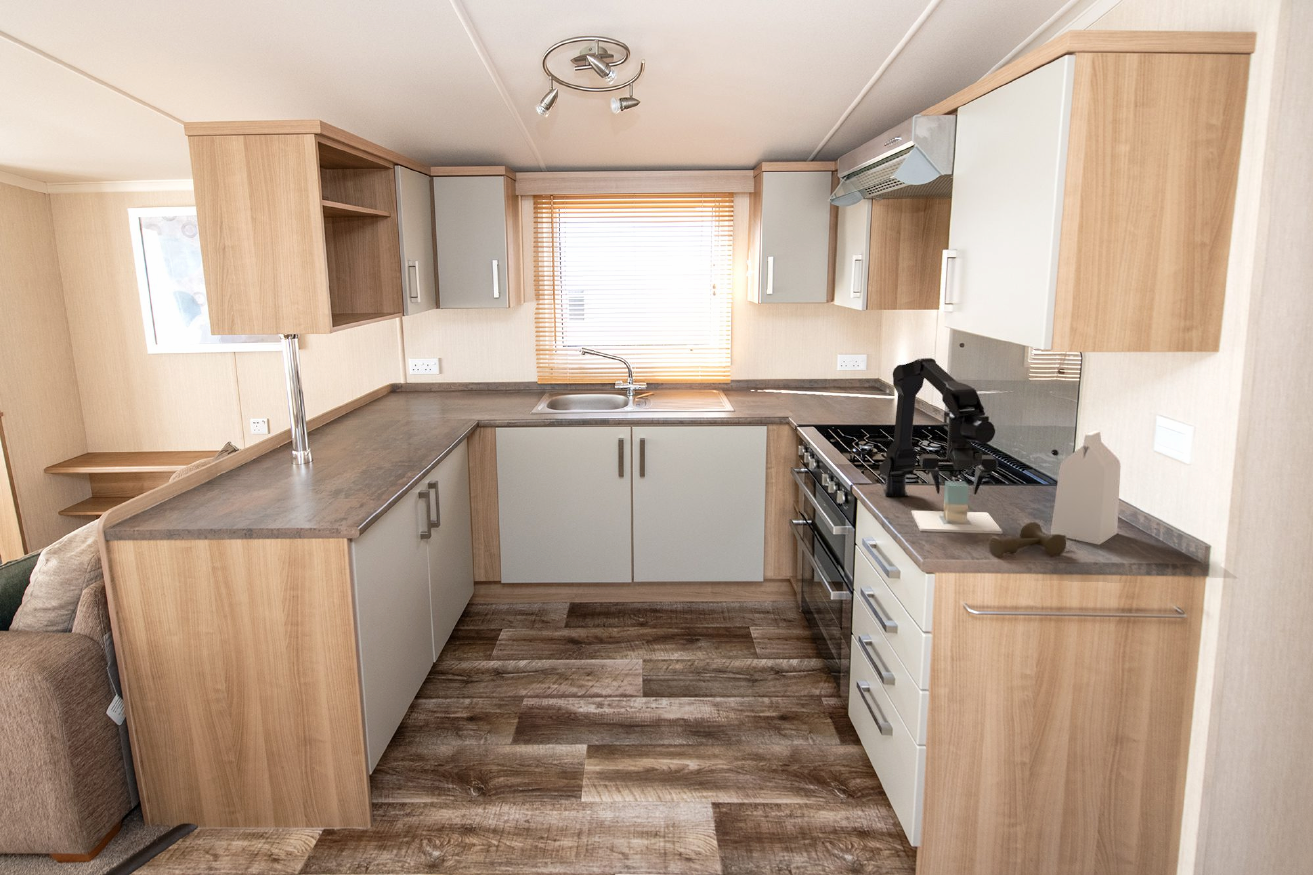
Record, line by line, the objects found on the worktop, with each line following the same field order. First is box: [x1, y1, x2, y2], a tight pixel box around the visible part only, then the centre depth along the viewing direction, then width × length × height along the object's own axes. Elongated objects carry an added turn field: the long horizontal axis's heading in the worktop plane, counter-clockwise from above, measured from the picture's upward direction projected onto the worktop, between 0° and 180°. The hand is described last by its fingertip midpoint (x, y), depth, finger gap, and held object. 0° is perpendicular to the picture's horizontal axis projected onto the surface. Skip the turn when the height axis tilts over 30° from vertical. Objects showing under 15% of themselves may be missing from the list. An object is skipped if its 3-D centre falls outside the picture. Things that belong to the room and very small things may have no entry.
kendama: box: [988, 521, 1067, 559], centre depth 191 cm, size 6×10×20 cm
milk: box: [1050, 430, 1121, 545], centre depth 201 cm, size 12×12×26 cm
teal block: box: [943, 480, 970, 506], centre depth 212 cm, size 5×5×5 cm
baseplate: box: [911, 510, 1003, 535], centre depth 214 cm, size 16×20×1 cm
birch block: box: [943, 498, 969, 523], centre depth 213 cm, size 5×5×5 cm
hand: (956, 493), depth 212 cm, fingers open, 9 cm apart
